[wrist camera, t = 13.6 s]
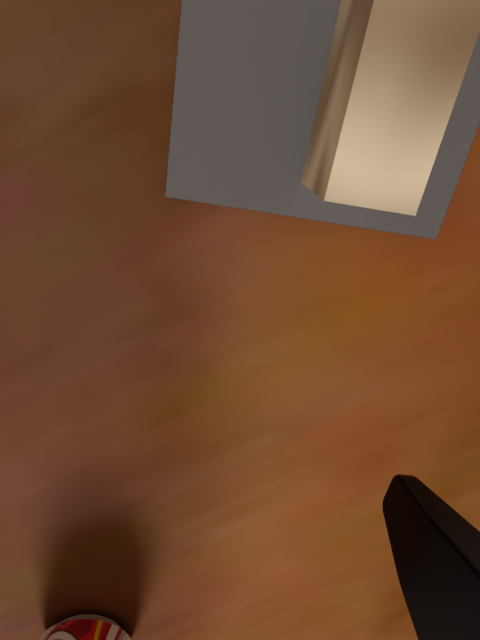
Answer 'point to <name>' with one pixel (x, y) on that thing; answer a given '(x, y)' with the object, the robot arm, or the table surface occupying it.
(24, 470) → the table surface
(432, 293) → the table surface
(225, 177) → the tool mat
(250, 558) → the table surface
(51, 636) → the soda can
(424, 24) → the cream saddle block
